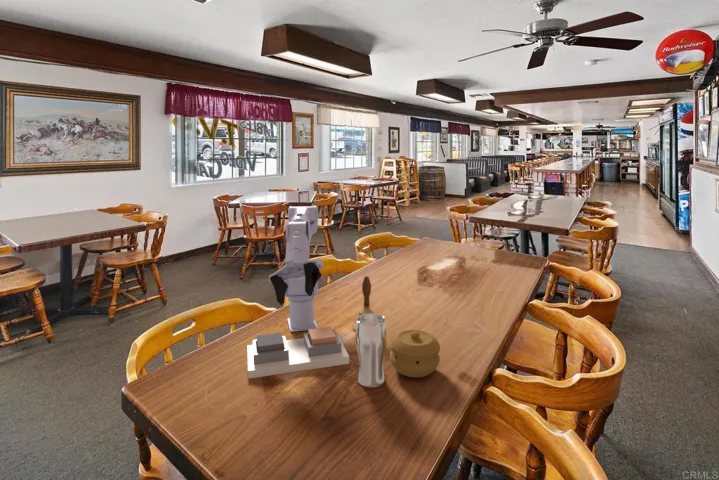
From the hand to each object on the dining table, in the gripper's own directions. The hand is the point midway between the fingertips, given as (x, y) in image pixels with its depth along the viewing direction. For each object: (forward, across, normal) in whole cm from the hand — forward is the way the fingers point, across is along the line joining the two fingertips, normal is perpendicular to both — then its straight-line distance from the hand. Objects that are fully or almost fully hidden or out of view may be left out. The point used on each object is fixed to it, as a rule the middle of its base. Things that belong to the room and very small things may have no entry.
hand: (294, 298), depth 97 cm
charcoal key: (+7, -11, +9) cm, 16 cm away
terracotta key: (+5, 0, +16) cm, 16 cm away
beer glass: (+17, +12, +16) cm, 26 cm away
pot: (+15, +21, +22) cm, 33 cm away
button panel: (+7, -7, +14) cm, 17 cm away
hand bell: (-6, +7, +30) cm, 31 cm away
